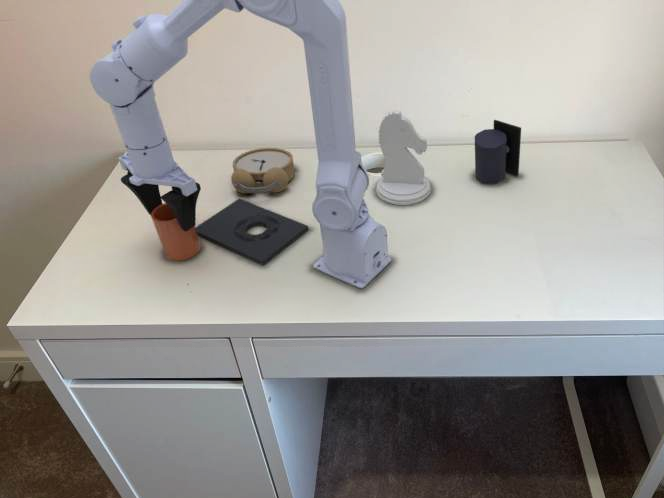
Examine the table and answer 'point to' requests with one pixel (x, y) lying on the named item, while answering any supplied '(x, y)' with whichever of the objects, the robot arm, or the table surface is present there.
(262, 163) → the alarm clock
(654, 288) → the table surface
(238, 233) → the drain mat
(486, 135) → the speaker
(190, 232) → the cup
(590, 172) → the table surface
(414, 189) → the chess piece
